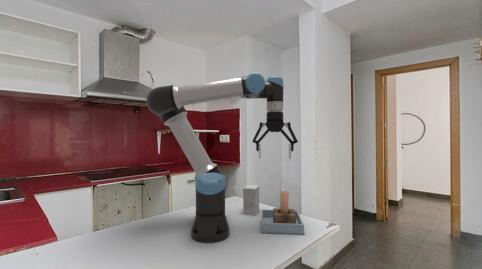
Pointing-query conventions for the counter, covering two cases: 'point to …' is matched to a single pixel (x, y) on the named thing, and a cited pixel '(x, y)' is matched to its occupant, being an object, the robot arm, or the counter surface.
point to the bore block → (284, 216)
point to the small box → (251, 199)
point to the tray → (280, 224)
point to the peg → (284, 202)
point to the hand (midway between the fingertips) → (274, 158)
